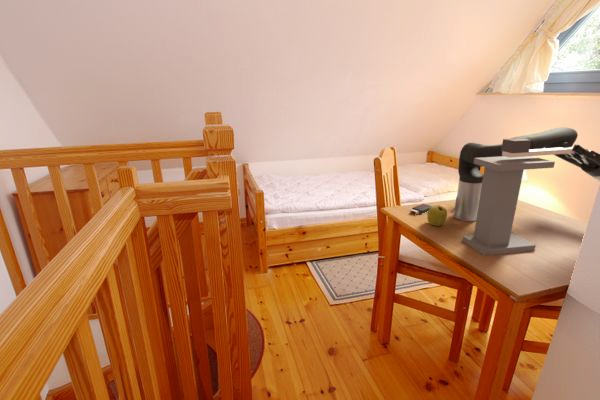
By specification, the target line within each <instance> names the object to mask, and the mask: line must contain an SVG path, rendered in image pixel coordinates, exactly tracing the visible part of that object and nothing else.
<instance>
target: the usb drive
mask: <svg viewBox="0 0 600 400" xmlns="http://www.w3.org/2000/svg"><path fill="white" fill-rule="evenodd" d="M432 206H433V205H429V204H426V203H421V204H419V205H416V206H413V207H412V209H410V211H409V214H410V213H412V214H411V215H413V214H418V215H419V214H420V215H423V214H422V213H424V214H426V213H425V212H427V211H428V210H429V209H430V208H431V207H432ZM427 213H428V212H427Z"/></svg>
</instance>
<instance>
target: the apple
mask: <svg viewBox="0 0 600 400" xmlns="http://www.w3.org/2000/svg"><path fill="white" fill-rule="evenodd" d="M431 206H432V207H431V208H430V209H429V210H428V212H427V213H426V214H427V218H426V219H427V221H428V224H430V225H431V226H435V227H440V226H441V225H443V224H444V223H445V222H446V220H447V217H448V211H447V209H446V208H445V207H443V206H441V205H431Z"/></svg>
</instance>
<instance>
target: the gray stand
mask: <svg viewBox="0 0 600 400" xmlns="http://www.w3.org/2000/svg"><path fill="white" fill-rule="evenodd" d="M555 162H556V161H554V160H549V159H544V158H541V157H537V156H525V157H506V156H500V157H482V158H474V164H477V165H480V166H483V167H482V168H483V169H484V170H483V181H482V187H481V193H480V200H479V206H478V212H477V218H476V221H475V225H474V232H473V234H469V235H462V237H461V241H462V242H464V243H465V244H466V245H468V246H469V247H470V248H472V249H473V250H475V251H476V252H478V253H479V254H481V255H482V256H489V255H498V254H499V255H500V254H509V253H518V252H531V251H536V248H537V247H536V244H534V243H533V242H531V241H528V240H527V239H525V238H523V237H522V236H520V235H517V234H516V233H514V232H512V229H513V225H514V220H515V215H516V210H517V204H518V200H519V194H520V191H521V185H522V181H523V175H524V170H540V169H541V170H542V169H554V166H555V164H556V163H555Z"/></svg>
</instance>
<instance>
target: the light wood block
mask: <svg viewBox="0 0 600 400" xmlns="http://www.w3.org/2000/svg"><path fill="white" fill-rule="evenodd" d="M511 138H512V139H510V138H503V139H502V143H501V144H502V148H501V151H503V152H502V156H506V157H525V156H532V157H537V156H552V155H553V156H555V155H554V154H569V153H576V152H574V151H573V150H572V148H573V147H574V146H573V147H559V148H545V147H544V148H543V149H529V148H530V143H531V140H527V139H522V138H514V137H511ZM583 148H584V149H586V148H585V147H583Z"/></svg>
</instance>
